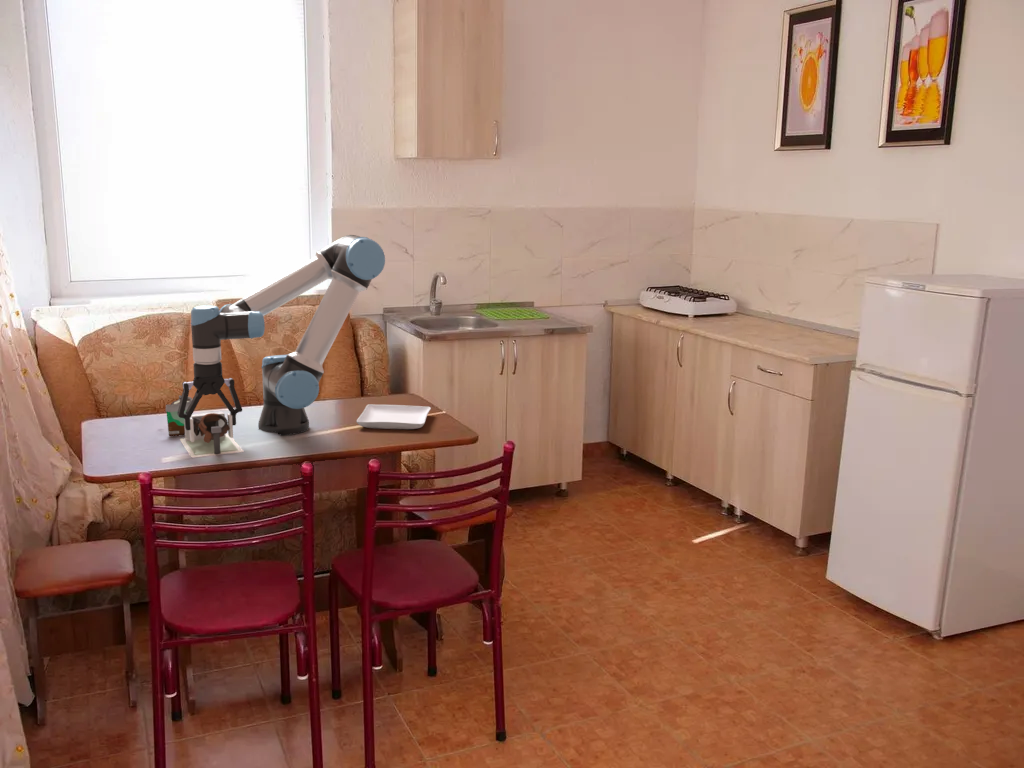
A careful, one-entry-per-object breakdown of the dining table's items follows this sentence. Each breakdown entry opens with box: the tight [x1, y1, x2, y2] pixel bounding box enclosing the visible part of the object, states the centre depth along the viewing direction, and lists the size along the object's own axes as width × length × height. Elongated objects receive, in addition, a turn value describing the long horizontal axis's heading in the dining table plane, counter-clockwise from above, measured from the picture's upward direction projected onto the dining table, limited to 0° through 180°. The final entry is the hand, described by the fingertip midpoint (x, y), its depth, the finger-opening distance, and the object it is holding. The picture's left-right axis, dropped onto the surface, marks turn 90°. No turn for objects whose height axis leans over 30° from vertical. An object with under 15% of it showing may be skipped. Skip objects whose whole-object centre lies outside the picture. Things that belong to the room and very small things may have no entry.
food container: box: [165, 395, 193, 437], centre depth 280 cm, size 12×6×10 cm, turn 0°
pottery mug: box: [192, 412, 230, 443], centre depth 264 cm, size 12×10×8 cm
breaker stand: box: [179, 411, 245, 458], centre depth 265 cm, size 14×20×8 cm
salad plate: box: [356, 403, 432, 430], centre depth 297 cm, size 21×21×3 cm
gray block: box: [211, 426, 221, 455], centre depth 257 cm, size 2×2×8 cm
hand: (211, 438), depth 264 cm, fingers closed on pottery mug, 10 cm apart
